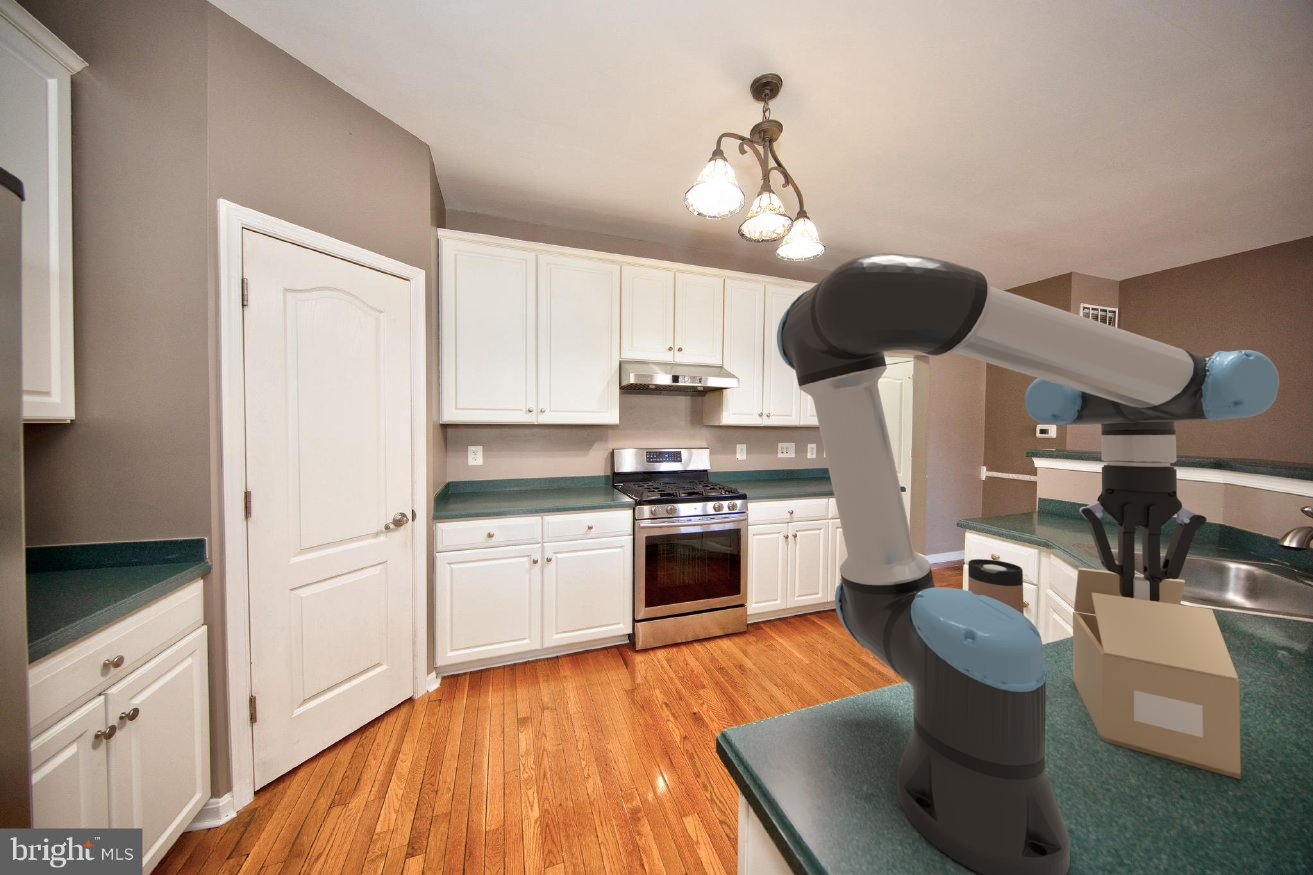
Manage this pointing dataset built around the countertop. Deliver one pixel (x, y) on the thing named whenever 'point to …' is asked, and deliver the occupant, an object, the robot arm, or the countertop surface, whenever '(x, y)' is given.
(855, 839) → the countertop surface
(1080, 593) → the far flap
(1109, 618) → the near flap
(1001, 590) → the travel mug
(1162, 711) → the carton
